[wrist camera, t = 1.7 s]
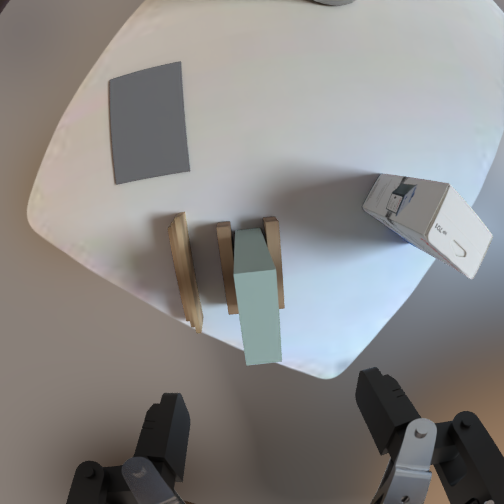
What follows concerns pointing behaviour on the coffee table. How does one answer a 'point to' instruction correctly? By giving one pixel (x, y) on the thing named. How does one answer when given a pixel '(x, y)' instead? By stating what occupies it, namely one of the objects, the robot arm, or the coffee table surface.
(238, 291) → the grey-green rectangular block
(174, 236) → the wooden bar
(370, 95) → the coffee table surface
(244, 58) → the coffee table surface
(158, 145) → the rubber mat
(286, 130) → the coffee table surface
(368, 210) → the ink box
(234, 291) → the walnut slot block
